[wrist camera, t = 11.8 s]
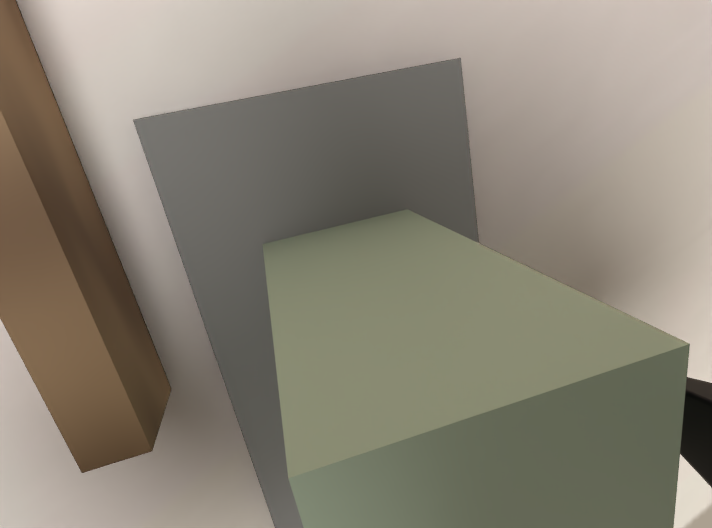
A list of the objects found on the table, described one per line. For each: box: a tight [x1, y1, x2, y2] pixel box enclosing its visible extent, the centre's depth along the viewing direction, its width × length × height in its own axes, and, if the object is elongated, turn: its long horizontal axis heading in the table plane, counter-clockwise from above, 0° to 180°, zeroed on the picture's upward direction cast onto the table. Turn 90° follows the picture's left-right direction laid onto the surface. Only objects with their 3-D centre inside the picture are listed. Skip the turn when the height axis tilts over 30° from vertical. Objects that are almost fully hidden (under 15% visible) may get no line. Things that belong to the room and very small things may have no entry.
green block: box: [263, 209, 690, 528], centre depth 9 cm, size 4×7×8 cm, turn 11°
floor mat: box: [133, 58, 479, 528], centre depth 13 cm, size 14×8×1 cm, turn 11°
